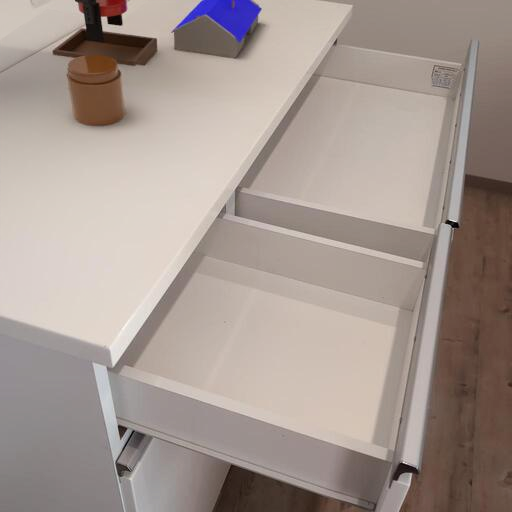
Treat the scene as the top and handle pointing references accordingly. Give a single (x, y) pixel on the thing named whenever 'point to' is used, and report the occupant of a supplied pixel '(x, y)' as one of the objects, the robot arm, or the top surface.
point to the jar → (95, 90)
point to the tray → (110, 47)
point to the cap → (109, 7)
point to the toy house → (217, 27)
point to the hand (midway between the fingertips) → (105, 32)
